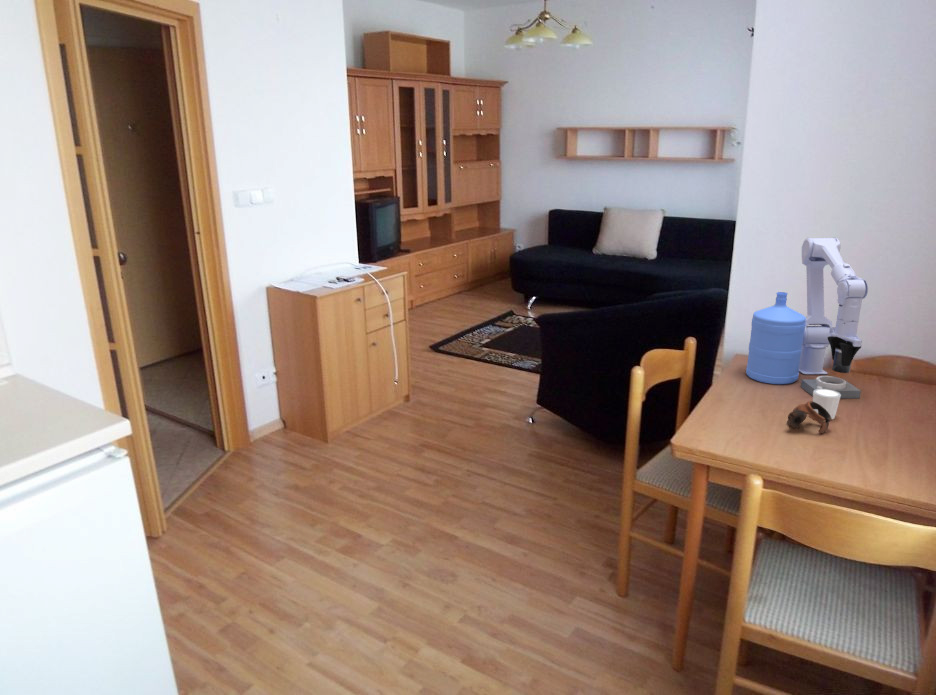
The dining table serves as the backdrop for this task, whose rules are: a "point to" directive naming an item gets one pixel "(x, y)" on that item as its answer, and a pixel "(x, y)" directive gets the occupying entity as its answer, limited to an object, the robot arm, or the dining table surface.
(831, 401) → the white cup
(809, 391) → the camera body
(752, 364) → the water jug
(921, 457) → the dining table surface
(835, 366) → the lens
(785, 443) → the dining table surface
